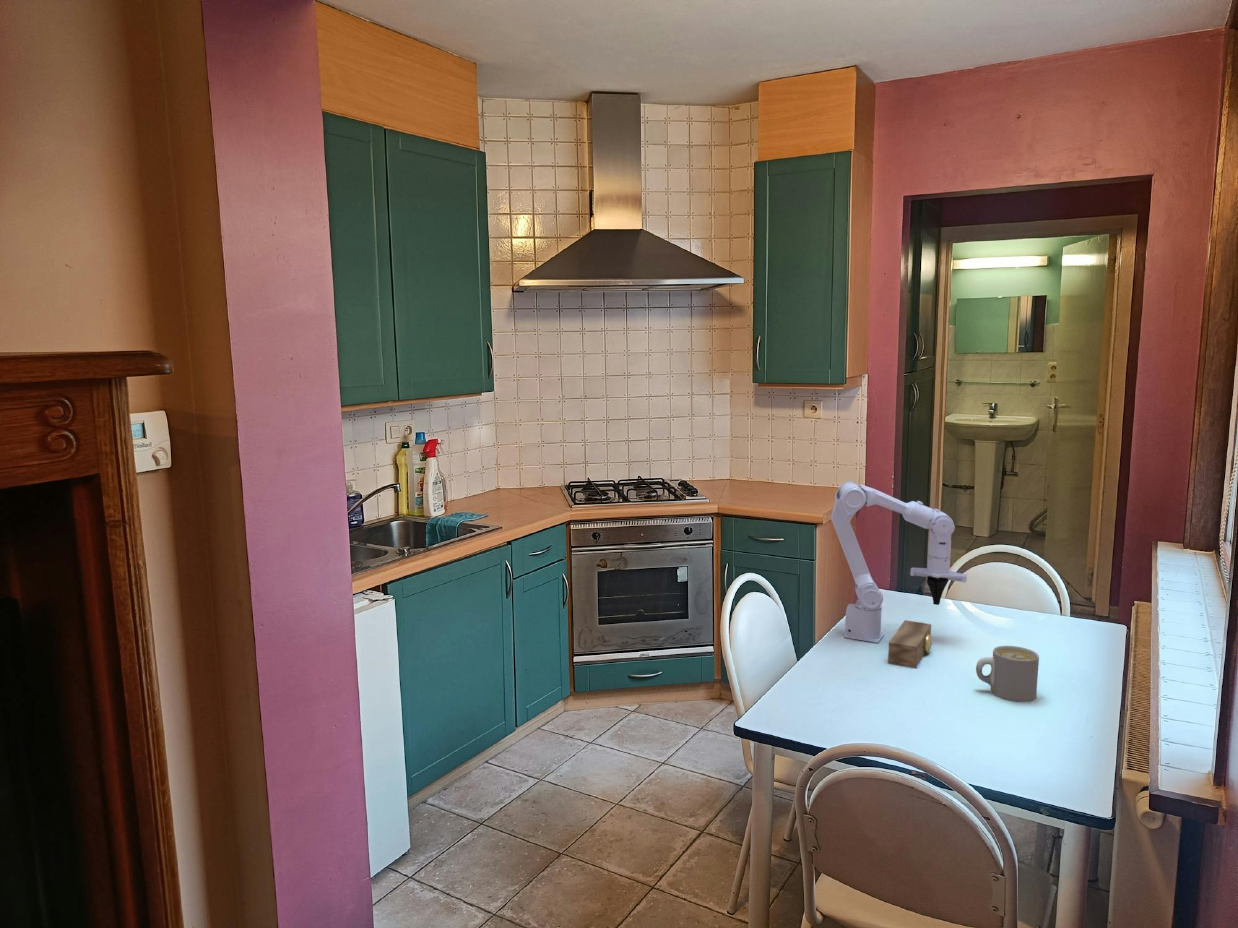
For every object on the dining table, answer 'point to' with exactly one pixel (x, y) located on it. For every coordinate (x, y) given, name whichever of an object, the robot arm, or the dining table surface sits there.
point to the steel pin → (927, 643)
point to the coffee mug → (1011, 673)
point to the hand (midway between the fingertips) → (936, 603)
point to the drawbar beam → (908, 644)
